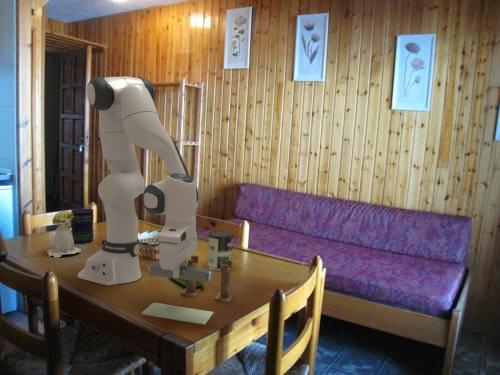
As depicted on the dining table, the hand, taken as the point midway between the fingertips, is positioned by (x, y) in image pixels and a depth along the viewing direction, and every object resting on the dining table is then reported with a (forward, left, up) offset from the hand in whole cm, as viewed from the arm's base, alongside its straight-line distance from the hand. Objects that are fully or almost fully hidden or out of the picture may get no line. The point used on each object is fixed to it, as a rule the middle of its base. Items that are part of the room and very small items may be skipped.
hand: (179, 274), depth 122 cm
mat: (0, 0, -12) cm, 12 cm away
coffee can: (-1, +46, -13) cm, 48 cm away
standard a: (-2, +16, -12) cm, 20 cm away
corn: (-8, +25, -13) cm, 29 cm away
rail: (0, 0, -1) cm, 1 cm away
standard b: (+10, +16, -12) cm, 23 cm away
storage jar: (-71, +55, -13) cm, 91 cm away
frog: (-67, +37, -13) cm, 78 cm away
